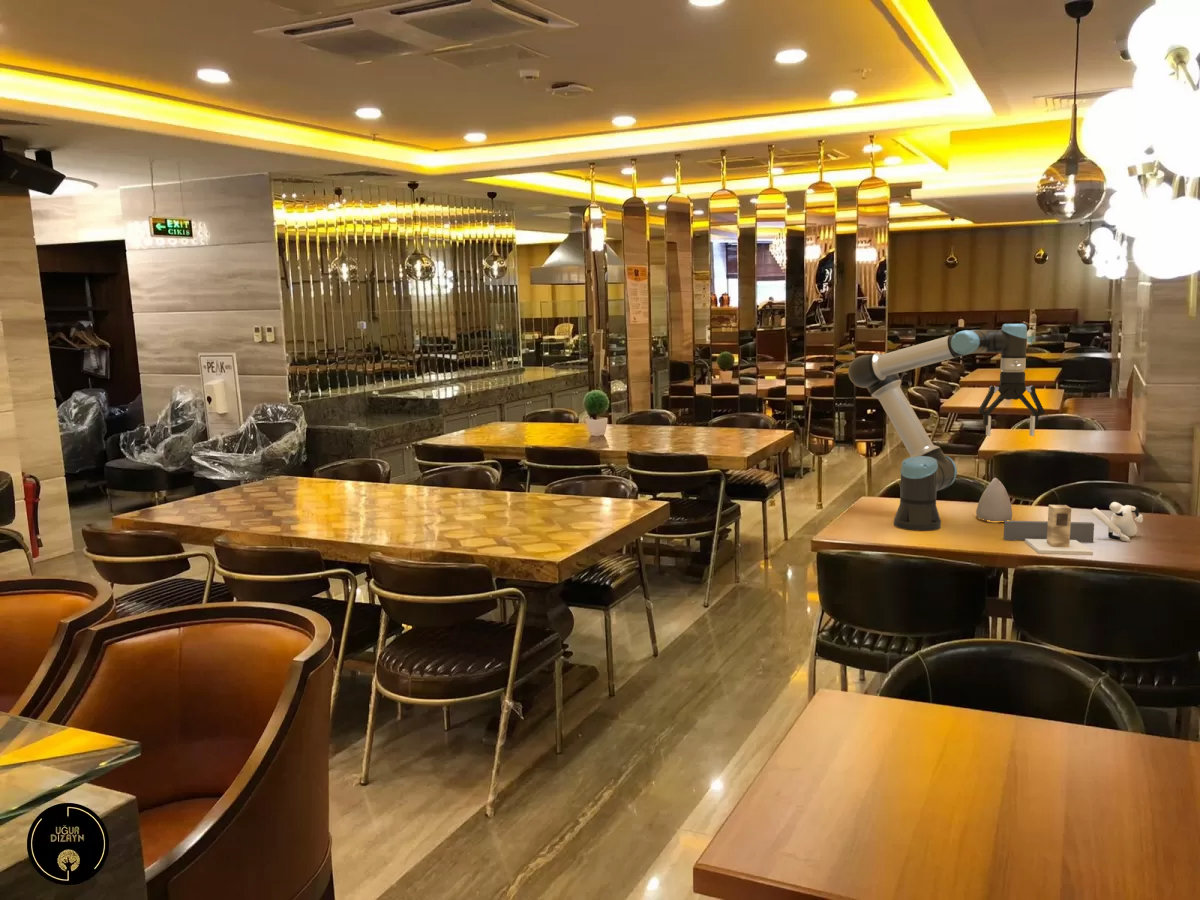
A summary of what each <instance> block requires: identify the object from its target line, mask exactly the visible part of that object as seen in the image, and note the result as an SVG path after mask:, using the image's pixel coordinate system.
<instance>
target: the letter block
mask: <svg viewBox="0 0 1200 900" xmlns="http://www.w3.org/2000/svg"><path fill="white" fill-rule="evenodd" d="M1047 511H1048V512H1047V513H1048V514H1047V521H1048V527H1047V544H1049V545H1050V546H1051V547H1069V544H1070V526H1071V522H1072V507H1070V506H1068V505H1067V504H1048V510H1047Z"/></svg>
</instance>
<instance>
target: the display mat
mask: <svg viewBox="0 0 1200 900" xmlns="http://www.w3.org/2000/svg"><path fill="white" fill-rule="evenodd" d="M1024 543H1026V544H1027V545H1028V546H1029V547H1030V548H1032V550H1034V551H1035V552H1036V553H1038V554H1039V555H1040V554H1042V555H1045V554H1046V555H1075V556H1076V555H1081V556H1082V555H1084V556H1093V555H1094V551H1093V550H1091V549H1090V548H1088V547H1087V546H1085V545H1084V544H1083V543H1082V542H1078V541H1077V540H1070V544H1069V547H1051V546H1050V545H1049V544H1047V539H1025V541H1024Z"/></svg>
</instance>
